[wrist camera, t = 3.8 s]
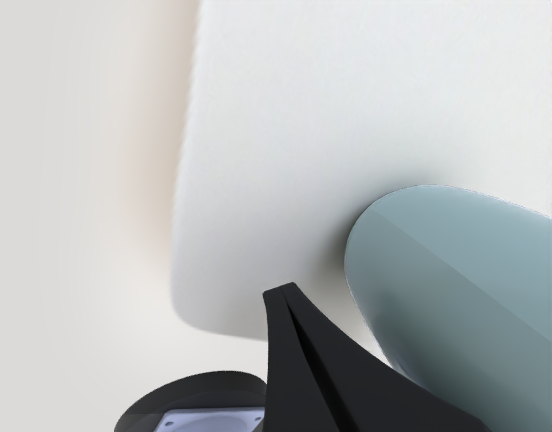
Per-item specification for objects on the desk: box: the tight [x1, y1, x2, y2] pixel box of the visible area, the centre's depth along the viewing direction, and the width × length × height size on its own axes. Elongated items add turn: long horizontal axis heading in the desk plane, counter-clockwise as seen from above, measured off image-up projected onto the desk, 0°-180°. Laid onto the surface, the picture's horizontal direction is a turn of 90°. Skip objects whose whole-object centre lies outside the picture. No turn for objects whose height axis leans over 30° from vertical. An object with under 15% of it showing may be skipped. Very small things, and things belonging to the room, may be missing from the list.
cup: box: [344, 185, 552, 432], centre depth 10 cm, size 8×8×10 cm
